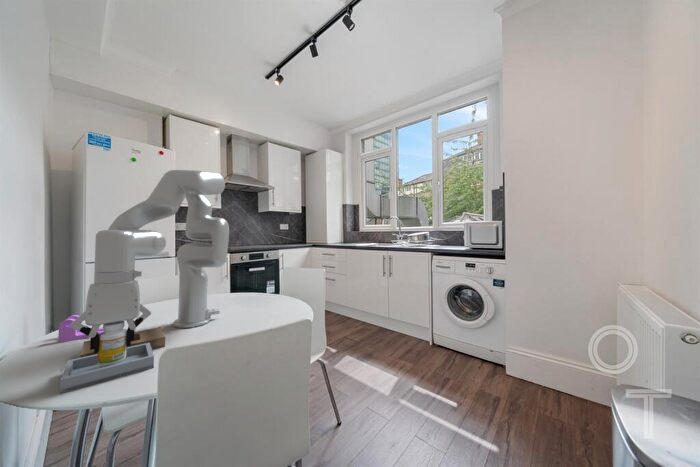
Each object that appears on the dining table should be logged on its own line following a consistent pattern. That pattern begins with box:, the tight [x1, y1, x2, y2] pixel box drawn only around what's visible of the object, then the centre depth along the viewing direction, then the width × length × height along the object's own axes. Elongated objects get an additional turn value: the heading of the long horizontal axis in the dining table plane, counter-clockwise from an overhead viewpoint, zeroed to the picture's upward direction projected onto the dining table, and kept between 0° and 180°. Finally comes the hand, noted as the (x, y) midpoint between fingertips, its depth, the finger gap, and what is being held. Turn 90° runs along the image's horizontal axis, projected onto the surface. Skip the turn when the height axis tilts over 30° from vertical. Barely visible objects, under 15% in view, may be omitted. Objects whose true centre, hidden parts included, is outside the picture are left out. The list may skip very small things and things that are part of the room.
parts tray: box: [59, 343, 155, 394], centre depth 63 cm, size 16×11×3 cm
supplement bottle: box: [97, 321, 127, 366], centre depth 63 cm, size 5×5×10 cm
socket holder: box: [79, 326, 166, 358], centre depth 74 cm, size 18×11×3 cm, turn 134°
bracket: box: [57, 314, 104, 343], centre depth 84 cm, size 13×6×7 cm, turn 123°
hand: (112, 346), depth 63 cm, fingers closed on supplement bottle, 5 cm apart
